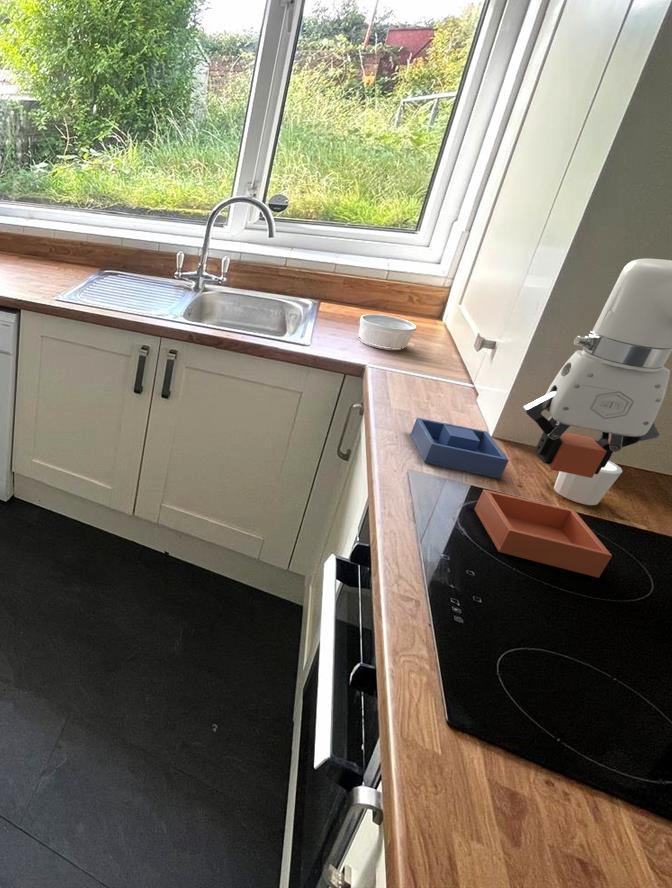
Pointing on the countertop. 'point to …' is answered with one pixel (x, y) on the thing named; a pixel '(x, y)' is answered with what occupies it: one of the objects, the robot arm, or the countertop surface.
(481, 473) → the blue bin
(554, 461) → the terracotta block
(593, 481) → the white cylinder
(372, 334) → the ramekin
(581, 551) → the terracotta bin
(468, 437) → the blue block
